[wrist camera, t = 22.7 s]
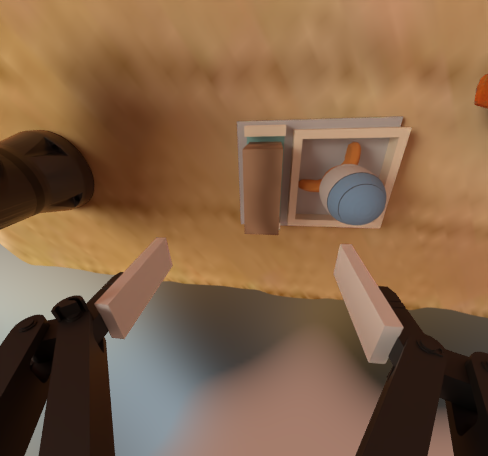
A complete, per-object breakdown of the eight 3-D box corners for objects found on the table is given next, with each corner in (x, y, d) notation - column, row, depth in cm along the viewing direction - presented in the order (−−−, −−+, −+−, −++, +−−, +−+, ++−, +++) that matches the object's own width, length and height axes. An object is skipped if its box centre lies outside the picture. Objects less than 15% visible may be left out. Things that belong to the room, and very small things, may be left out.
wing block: (250, 210, 39) (244, 233, 31) (249, 142, 34) (242, 149, 26) (277, 211, 39) (278, 235, 31) (281, 141, 33) (283, 149, 25)
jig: (241, 221, 42) (238, 231, 38) (237, 121, 33) (233, 121, 30) (369, 225, 39) (379, 236, 35) (401, 116, 30) (417, 116, 27)
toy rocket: (343, 130, 32) (424, 147, 19) (367, 181, 37) (445, 222, 24) (287, 172, 35) (327, 212, 22) (316, 215, 39) (363, 268, 27)
